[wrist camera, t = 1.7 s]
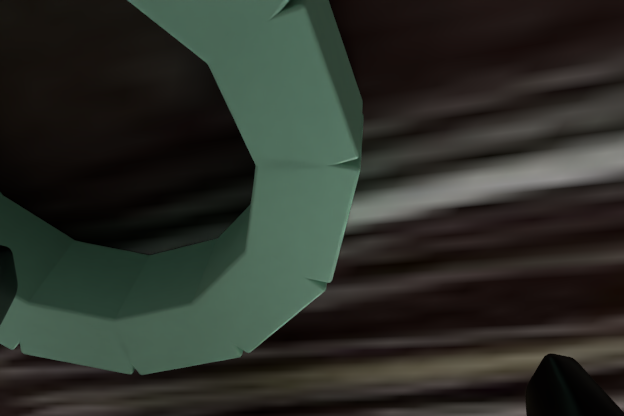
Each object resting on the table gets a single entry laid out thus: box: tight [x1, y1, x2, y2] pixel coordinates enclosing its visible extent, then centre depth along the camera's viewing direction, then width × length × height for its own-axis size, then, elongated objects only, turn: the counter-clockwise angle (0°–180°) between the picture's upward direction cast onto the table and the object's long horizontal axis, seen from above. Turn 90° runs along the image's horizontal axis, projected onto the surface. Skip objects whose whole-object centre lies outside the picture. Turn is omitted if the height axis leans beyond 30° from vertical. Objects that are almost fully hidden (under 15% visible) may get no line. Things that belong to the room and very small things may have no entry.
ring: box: [0, 0, 364, 375], centre depth 13 cm, size 12×12×3 cm
